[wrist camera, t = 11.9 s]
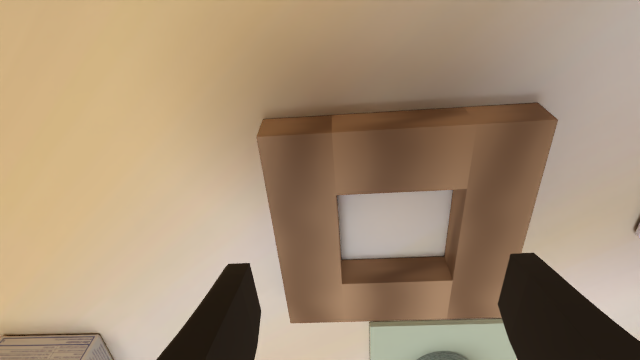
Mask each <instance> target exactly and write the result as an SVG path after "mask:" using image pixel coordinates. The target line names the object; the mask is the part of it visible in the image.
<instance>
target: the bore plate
mask: <svg viewBox="0 0 640 360" xmlns="http://www.w3.org/2000/svg"><path fill="white" fill-rule="evenodd" d="M557 121H558V119H557V118H555V117H554V116H553V115H552V114H551V113H549V112H548V111H547V110H546V109H545V108H543V107H542V106H541V105H540V104H539V103H525V104H509V105H492V106H476V107H459V108H443V109H426V110H410V111H393V112H376V113H360V114H343V115H327V116H310V117H294V118H277V119H263V121H262V124H261V126H260V129H259V132H258V135H257V142H258V148H259V153H260V158H261V164H262V169H263V175H264V180H265V186H266V191H267V197H268V202H269V208H270V213H271V219H272V224H273V230H274V235H275V240H276V246H277V251H278V257H279V262H280V268H281V273H282V279H283V284H284V290H285V295H286V301H287V306H288V312H289V317H290V322H291V323H318V322H356V321H394V320H432V319H470V318H502V317H501V314H500V310H499V307H498V301H499V297H500V293H501V289H502V285H503V281H504V277H505V273H506V269H507V265H508V262H509V258H510V254H516V253H521V252H522V248H523V245H524V241H525V237H526V234H527V230H528V226H529V223H530V219H531V216H532V212H533V208H534V205H535V201H536V197H537V194H538V190H539V187H540V183H541V179H542V176H543V172H544V168H545V165H546V161H547V158H548V154H549V150H550V147H551V143H552V139H553V136H554V132H555V129H556V125H557ZM435 190H453V195H452V203H451V211H450V218H449V226H448V233H447V241H446V248H445V256H443V257H416V258H389V259H361V260H341V249H340V233H339V217H338V202H337V195H350V194H371V193H392V192H414V191H435Z"/></svg>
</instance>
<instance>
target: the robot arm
mask: <svg viewBox="0 0 640 360" xmlns="http://www.w3.org/2000/svg"><path fill="white" fill-rule="evenodd" d="M636 235H637V236H638V237H639V238H640V223H639V226H638V228H637V230H636ZM498 307H499V310H500V314H501V317H502V320H503V324H504V327H505V330H506V333H507V336H508V339H509V341H510V344H511V346H512V348H513V351H514V353H515V355H516V357H517V359H518V360H640V341H638V340H637V339H636V338H634V337H633V336H632V335H631V334H629V333H628V332H627V331H625V330H624V329H623V328H622V327H620V326H619V325H618V324H617V323H615V322H614V321H613V320H612V319H610V318H609V317H608V316H607V315H606V314H604V313H603V312H602V311H601V310H600V309H598V308H597V307H596V306H595V305H594V304H592V303H591V302H590V301H589V300H588V299H586V298H585V297H584V296H583V295H582V294H581V293H579V292H578V291H577V290H576V289H575V288H574V287H572V286H571V285H570V284H569V283H568V282H567V281H566V280H564V279H563V278H562V277H561V276H560V275H559V274H558V273H556V272H555V271H554V270H553V269H552V268H551V267H550V266H548V265H547V264H546V263H545V262H544V261H543V260H542V259H540V258H539V257H538V256H537V255H536V254H534V253H516V254H510V258H509V262H508V265H507V269H506V273H505V277H504V281H503V285H502V289H501V293H500V297H499V301H498ZM260 317H261V308H260V304H259V300H258V296H257V292H256V288H255V283H254V279H253V275H252V271H251V267H250V263H242V264H228V265H227V266H226V267H225V269H224V270H223V272H222V273H221V275H220V276H219V278H218V279H217V280H216V282H215V283H214V285H213V286H212V288H211V289H210V291H209V292H208V294H207V295H206V296H205V298H204V299H203V301H202V302H201V303H200V305H199V306H198V307H197V309H196V310H195V312H194V313H193V314H192V316H191V317H190V318H189V320H188V321H187V322H186V324H185V325H184V326H183V328H182V329H181V330H180V331H179V333H178V334H177V335H176V336H175V338H174V339H173V340H172V341H171V342H170V344H169V345H168V346H167V347H166V349H165V350H164V351H163V352H162V353H161V355H160V356H159V357H158V358H157V360H254V358H255V354H256V349H257V343H258V335H259V326H260Z"/></svg>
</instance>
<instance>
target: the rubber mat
mask: <svg viewBox="0 0 640 360" xmlns="http://www.w3.org/2000/svg"><path fill="white" fill-rule="evenodd" d="M369 329H370V360H417V359H418V358H420V357H421V356H423V355H425V354H428V353H432V352H437V351H450V352H455V353H458V354H461V355H463V356H464V357H466V358H467V359H468V360H516V358H517V357H516V355H515V353H514V351H513V348H512V346H511V344H510V341H509V339H508V336H507V333H506V330H505V327H504V324H503V320H502V319H469V320H430V321H392V322H369Z"/></svg>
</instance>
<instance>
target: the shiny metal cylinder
mask: <svg viewBox="0 0 640 360" xmlns="http://www.w3.org/2000/svg"><path fill="white" fill-rule="evenodd" d="M417 360H468V359H467V358H466V357H464V356H463V355H461V354H458V353H455V352H450V351H437V352H432V353H428V354H425V355H423V356H421V357H420V358H418V359H417Z"/></svg>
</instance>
